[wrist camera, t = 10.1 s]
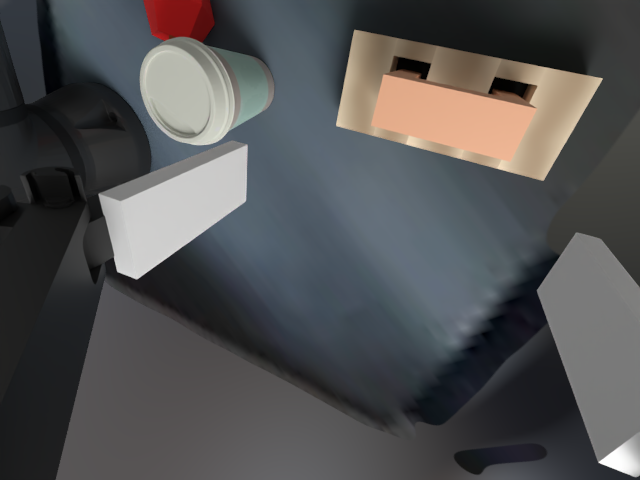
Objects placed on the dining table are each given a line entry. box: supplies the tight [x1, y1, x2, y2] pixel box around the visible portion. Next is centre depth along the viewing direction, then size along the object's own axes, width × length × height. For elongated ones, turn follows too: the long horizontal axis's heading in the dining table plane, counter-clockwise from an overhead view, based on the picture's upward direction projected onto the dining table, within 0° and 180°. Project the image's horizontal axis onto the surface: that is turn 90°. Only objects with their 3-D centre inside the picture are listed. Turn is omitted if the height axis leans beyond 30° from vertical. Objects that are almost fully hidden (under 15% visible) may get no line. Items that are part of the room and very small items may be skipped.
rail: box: [336, 30, 602, 181], centre depth 29 cm, size 19×8×4 cm, turn 80°
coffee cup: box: [140, 37, 274, 145], centre depth 31 cm, size 9×8×12 cm
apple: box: [143, 0, 215, 43], centre depth 32 cm, size 7×7×8 cm
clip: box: [371, 69, 537, 162], centre depth 26 cm, size 10×4×10 cm, turn 80°
